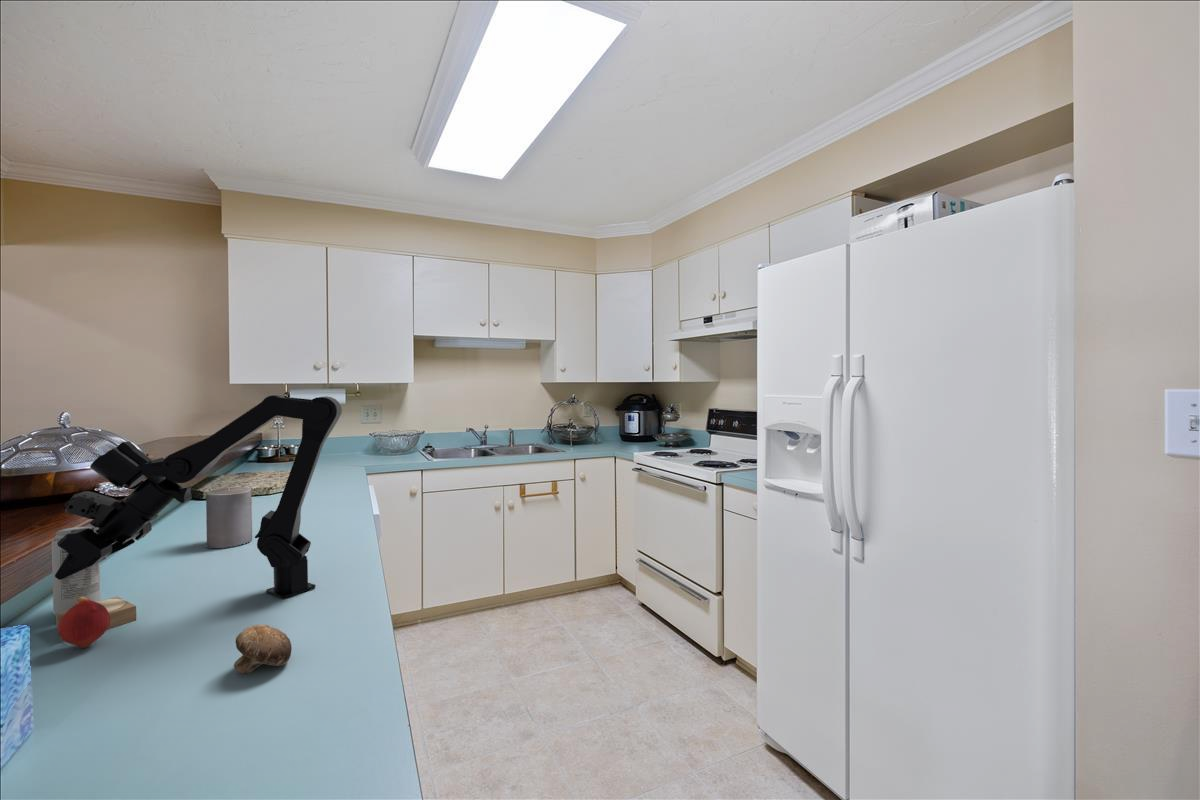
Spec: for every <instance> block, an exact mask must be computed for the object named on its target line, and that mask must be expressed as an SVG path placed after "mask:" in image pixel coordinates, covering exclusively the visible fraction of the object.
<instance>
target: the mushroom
mask: <svg viewBox="0 0 1200 800" xmlns="http://www.w3.org/2000/svg"><path fill="white" fill-rule="evenodd" d="M235 637H236V638H235V646H236V649H237V651H238V652H239V654H241V655H242V656H240V657H239V658H238V659H236V660H235V662H234V664H233V668H234V670H235V671H236V672H237V673H239V674H243V675H246V674H249V673H252V672H254V671H255V669H257V668H258V667H260V666H261V665H263V664H265V665H268V666H277V667H278V666H283V665H286V664H287V663H288V661H290V658H291V655H292V643H291V640H290V638H289V637H288V636H287V634H286V633H285V632H283V631H282V630H280V629H279V628H276V627H274V626H270V625H269V624H268V625H267V624H254V625H250V626H249V627H246V628H245V629H243V630H242V631H241V632H240V633H239V634H238V635H237V636H235Z"/></svg>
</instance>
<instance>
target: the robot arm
mask: <svg viewBox="0 0 1200 800" xmlns="http://www.w3.org/2000/svg"><path fill="white" fill-rule="evenodd" d="M342 411H343V409H342V405H341V404H340V402H339V401H338V400H337V399H336V398H334V397H331V396H327V395H326V396H319V397H315V398H312V399H310V398H301V397H300V398H299V397H289V396H283V395H280V394H273V395H268V396H267V397H265V398H264V399H263V400H261V402H260V403H258V404H257V405H254V406H253V407H252V408H251V409H249V410H247V411H246V412H244V413H243V414H242V415H240V416H238V417H237V418H236V419H234V420H232V421H230V422H229V423H228V424H226V425H225V426H223V427H222V428H220V429H218V430H217V431H216V432H214V433H213V434H212V435H210V436H208V437H206V438H204V439H202V440H199V441H197V442H195V443H193V444H192V443H191V444H190V445H189V446H188V445H187V446H185V447H183V448H181V449H179V450H177V451H175V452H173V453H171V454H169V455H167V456H166V457H165V458H164V457H160V458H159V457H158V458H155V459H152V458H150V457H149V456H148V455H146V454H145V453H143V452H142V451H141V450H140V449H139V448H137V445H135V444H134V443H132V442H131V441H129V440H127V441H123V442H120V444H118V445H117V446H116V447H113V448H112V449H110V450H109V451H107V452H105V453H104V454H101V455H99V456H98V457H97V458H96V459H95V460H94V461H93V462H92V463H91V464H90V465H89V468H90V469H91V470H92V471H93V472H95V473H97V474H98V475H99V476H101V477H102V478H103V479H105V480H107V481H108V482H109V483H110V484H111V485H113V486H114V487H116V488H117V489H121V488H124V487H127V488H128V489H131V488H134V487H135V486H137V485H138V484H139V485H138V486H137V487H135V488H134V489H133V490H132V491H131V492H130V493H129V494H127V496H125V497H124V498H123V499H120V500H118V499H115V498H113V497H111V496H107V495H103V494H100V493H98V492H94V491H88V490H86V491H85V490H84V491H82V492H77V493H74V494H73V495H72V496H71V497H70V499H69V500H68V501H65V502H64V507H65V510H64V513H65V514H67V515H71V516H72V515H75V516H78V517H82V518H86V519H88V520H91V522H89V524H90V525H91V526H92V527H94V528H98V529H95V532H94V531H92V530H91V529H89V528H84V529H78V530H75V531H73V532H71V533H68V534H66V535H65V536H64V537H63V538H62V539H61V540H60V541H59V542H57V544H58V546H59V547H61V548H62V549H64V550H65V551H67V552H68V555H67V557H66V558H65V560H64V562H63V563H62V565H61V566H60V568H59V570H58V571H57V573H56V574H55V577H56V578H57V579H59V580H61V579H63V578H66V577H68V576H70V575H72V574H74V573H76V572H79V571H81V570H83V569H85V568H88V567H90V566H93V565H94V564H97V563H99V562H100V563H101V562H102V561H104V560H105V559H107V558H106V557H108V556H110V555H113V554H114V553H115V554H116V553H117V552H120V551H121V550H123V549H125V548H128V547H129V546H131V545H133V544H134V543H135V542H136V541H140V540H141V539H144V537H146V536H147V535H148V534H149V533H150V532H151V531H152V523H151V522H153V521H154V520H156V518H158V517H159V514H160V513H161V512H162V511H163V510H164V509H165V508H166V507H167V506H169V504H170V503H172V501H174V500H176V501H178V502H179V503H180V504H183V503H186V502H188V501H190V500H192V492H191V491H192V486H191V485H188V486H183V485H182V484H185V483H188V482H190V481H193V480H195V479H198V478H200V477H202V476H204V475H205V474H207V472H209V470H211V469H212V468H213V467H214V466H215V465H216V464H217V463H218V462H219V460H220V459H221V458H222V457H223V456H224V455H225V454H226V453H227V452H228V451H229V450H231V449H232V448H233V447H235V446H236V445H238V444H240V443H241V442H243V440H245V439H247V438H248V437H250V436H251V435H253V434H254V433H256V432H257V431H259V430H260V429H262V428H263V427H264V426H266V425H267V424H269V423H270V422H272V421H273V420H275V419H276V418H278V417H283V418H285V417H286V418H292V419H298V420H302V424H301V426H302V427H301V439H300V444H299V447H298V449H297V452H296V454H295V458H294V461H293V463H292V466H291V469H290V472H289V475H288V477H287V481H286V483H285V486H284V489H283V491H282V494H281V497H280V500H279V501H278V502H279V503H278V505H277V507H276V509H275V511H274V510H273V509H271V510H269V511H268V512H267V513H266V514H265V515H263V516H262V517H261V521H260V527H259V530H258V533H257V534H255V536H254V539H257V543H256V546H257V549H258V551H259V552H260V553H261V554H262V555H263V556H265V557H266V559H267V561H268V563H269V565H270V567H271V568H273V586H272V587H270V588H267V589H266V590H265V592H266V593H267V594H269V595H273V596H275V597H278V598H281V599H286V598H289V597H292V596H295V595H299V594H301V593H304V592H307V591H310V590H312V589H315V588H316V584H314V583H311V582H309V573H308V571H309V569H308V567H309V563H308V556H307V555H306V554H307V553H308V552H309V550H310V547H311V545H312V542H311V541H310V540H309V539H308V538H306V537H305V536H304V535H302V534H301V533H300V528H301V523H302V522H301V519H302V518H301V517H302V516H301V514H302V505H303V503H304V501H305V498H306V496H307V492H308V489H309V487H310V483H311V480H312V477H313V475H314V473H315V469H316V466H317V463H318V460H319V457H320V455H321V452H322V449H323V446H324V444H325V442H326V440H327V439H328V438H329V436H330V434H331V432H332V431H333V430H334V428H335V427H336V424H337V423H338V421H339V419H340V417H341V415H342ZM144 479H145V480H144ZM135 540H136V541H135Z"/></svg>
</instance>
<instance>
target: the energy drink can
mask: <svg viewBox="0 0 1200 800" xmlns="http://www.w3.org/2000/svg"><path fill="white" fill-rule="evenodd" d="M84 528H89V529H91V530H92V531H94V532H95V531H96V529H95V527H94V526H93V525H91V526H90V525H87V526H76V527H68V528H65V529H61V530H58V531H56V533H55V534H56V535H55V536H54V538H53V540H52V541H51V566H52V567H51V571H52V573H51V574H52V575H51V577H52V606H53V607H52V608H53V610H52V611H53V614H54V615H55V616H56V613H58V612H62V611H66V610H69V609H70V608H72V607H73V606H74V605H76V604H77V603H78V600H77V599H78V598H79V597H86V598H87V599H89V600H91V601H95V602H96V601H101V600H102V598H101V596H102V594H101V562H99V563H97V564H94V565H93V566H90V567H88V568H85V569H83V570H81V571H79V572H76V573H74V574H72V575H70V576H68V577H66V578H63V579H61V580H59V579H57V578H56V577H55V574H56V573H57V571H58V570H59V568H60V566H61V565H62V563H63V562H64V560H65V558H66V557H67V555H68V552H67V551H65V550H64V549H62V548H61V547H59V546H58V544H57V542H59V541H60V540H61V539H62V538H63V537H64V536H65V535H66V534H68V533H71V532H73V531H75V530H78V529H84Z"/></svg>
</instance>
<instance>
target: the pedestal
mask: <svg viewBox="0 0 1200 800" xmlns="http://www.w3.org/2000/svg"><path fill="white" fill-rule="evenodd" d="M96 602H97V603H100V604H101V605H103V606H104V607H105V608H106V609H107V611H108V612H109V614H110V619H111V620H110V625H109V627H108V629H107V630H110V629H111V628H116V627H118V626H121V625H125V624H128V623H131V622H135V621H137V605H135V604H133V603H132V602H129V601H127V600H125V599H123V598H120V597H119V596H115V597H111V598H107V599H101V601H96ZM67 611H68V610H66V611H62V612H58V613H56V615H55V623H56V624H55V627H56V629H57V630H58V625H59V622H60V620H61V618H62V617H63V615H64V614H65V613H66V612H67Z"/></svg>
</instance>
